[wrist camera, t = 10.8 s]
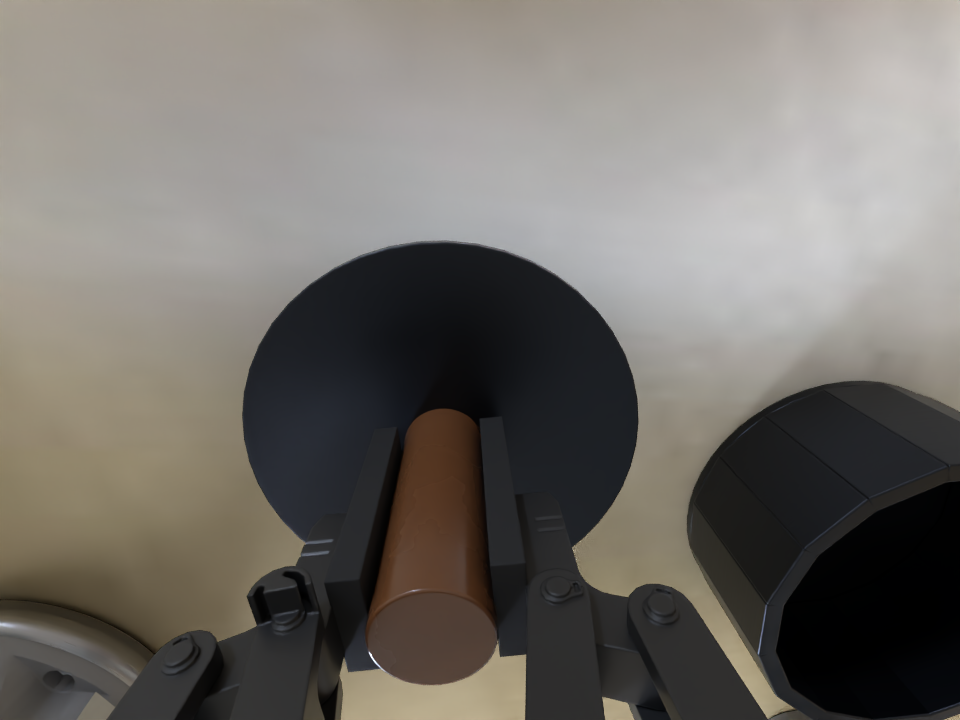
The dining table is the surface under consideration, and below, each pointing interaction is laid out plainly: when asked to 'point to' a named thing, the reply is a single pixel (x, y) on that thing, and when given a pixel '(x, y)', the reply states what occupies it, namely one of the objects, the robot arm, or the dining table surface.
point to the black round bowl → (841, 549)
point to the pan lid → (438, 425)
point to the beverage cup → (791, 716)
